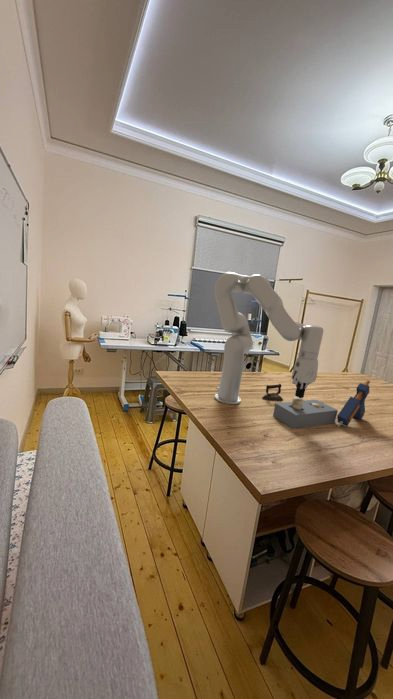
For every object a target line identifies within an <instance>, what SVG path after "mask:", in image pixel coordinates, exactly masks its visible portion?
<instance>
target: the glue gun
mask: <svg viewBox="0 0 393 699" xmlns="http://www.w3.org/2000/svg"><path fill="white" fill-rule="evenodd" d="M370 383H371V381H370V380H369V379H368V380H366V382H365V383H364V384H363V383H361V382H359V384H358V385H357V387H356V394H355V395H354V396H349V398H348V399H347V401H346V402H345V403H344V405H343V406H342V408H341V410H340V411H339V413H337V415H336V418H337V423H338V425H337V428H340V426H342V425H343V426H345V427H348V426H349V424H350V423H351V421H352V420H353V418H355V419H358V420H360V421H361V420H362V419H363V418H364V416H365V413H366V407H365V405H366V404H365V403H366V402H365V401H366V399H367V397H368V395H369V394H370V385H369V384H370Z"/></svg>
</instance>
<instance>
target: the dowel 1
mask: <svg viewBox="0 0 393 699" xmlns="http://www.w3.org/2000/svg"><path fill="white" fill-rule="evenodd" d="M304 401H305V400H304V399H303V398H299V397H297V396H294V397H292V401H291V402H292V405H291V408H293V409H295V410H296V411H298V410H302V406H303V402H304Z"/></svg>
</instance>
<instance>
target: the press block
mask: <svg viewBox="0 0 393 699" xmlns="http://www.w3.org/2000/svg"><path fill="white" fill-rule="evenodd" d="M312 403H317V404H320V405H322V408H316V407H314V406H312ZM291 405H292V401H284V402H276V403H275V404H274V409H273V413H272V417H274V418H276V419H277V420H279V421H280V422H281V423H283V424H285V425H286V426H288V427H290V428H291V429H293V430H295V429H300V428H308V427H313V426H321V425H327V424H333V423H336V418H337V416H338V411H339V410H338V409H337V408H334V407H332V406H330V405H329V404H327V403H324V402H323V401H319V400H318V399H310V400H309V399H307V400H306V399H305V400H304V402H303V406H302V410H298V411H296V410H295V409H293V408H291Z"/></svg>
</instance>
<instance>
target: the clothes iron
mask: <svg viewBox="0 0 393 699" xmlns="http://www.w3.org/2000/svg"><path fill="white" fill-rule="evenodd" d="M281 388H282V384H281V383H278V384H271V385H270V384H269V385H266V388H265V393H266V394H264V395H263V396H262V398H261V399H262V400H265V401H275V402H277V401H278V402H279V401H281V402H282V401H284V399H283V397H282V396H280V394H281V392H282V389H281ZM271 389H278V390H277V392H270V393H269V390H271Z"/></svg>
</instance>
